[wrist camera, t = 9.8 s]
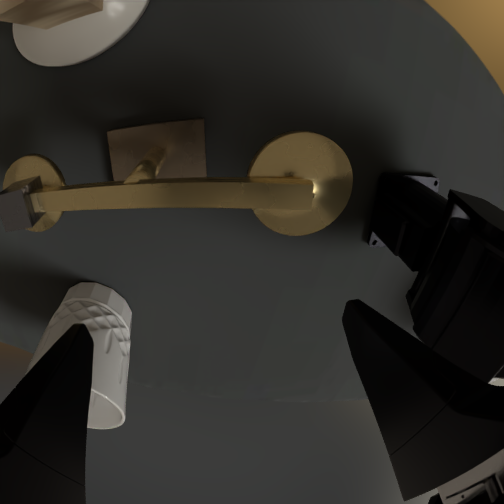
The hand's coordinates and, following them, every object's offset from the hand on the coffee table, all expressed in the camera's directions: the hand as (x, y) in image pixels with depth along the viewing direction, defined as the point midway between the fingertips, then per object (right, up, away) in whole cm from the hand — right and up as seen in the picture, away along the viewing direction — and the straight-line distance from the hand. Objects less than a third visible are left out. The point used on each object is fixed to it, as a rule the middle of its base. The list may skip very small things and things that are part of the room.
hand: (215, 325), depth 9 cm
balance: (-5, +9, +8) cm, 13 cm away
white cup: (-13, -3, +14) cm, 19 cm away
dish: (-10, +18, +1) cm, 21 cm away
